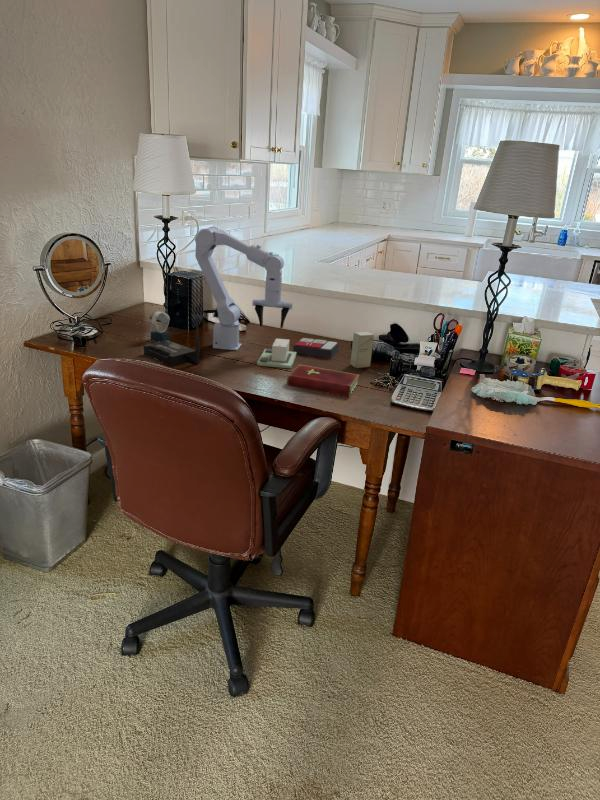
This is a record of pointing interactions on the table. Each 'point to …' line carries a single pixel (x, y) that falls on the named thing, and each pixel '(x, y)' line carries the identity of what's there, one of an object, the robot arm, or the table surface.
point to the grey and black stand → (173, 351)
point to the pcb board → (267, 357)
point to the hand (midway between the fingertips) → (271, 326)
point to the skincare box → (362, 349)
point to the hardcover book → (322, 380)
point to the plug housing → (280, 350)
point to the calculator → (316, 348)
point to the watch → (161, 334)
